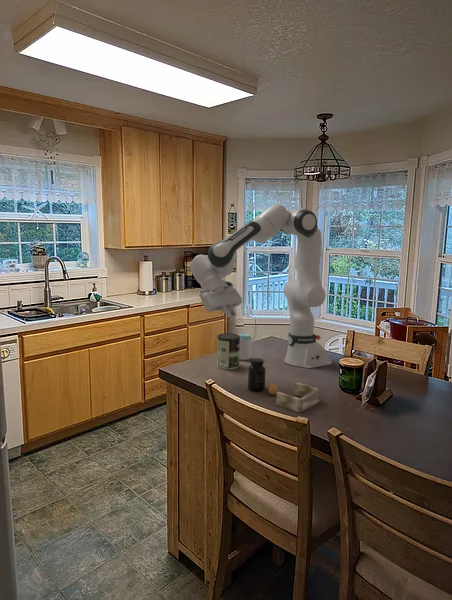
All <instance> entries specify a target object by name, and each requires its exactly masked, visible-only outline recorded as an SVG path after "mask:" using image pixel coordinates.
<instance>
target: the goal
mask: <svg viewBox="0 0 452 600" xmlns="http://www.w3.org/2000/svg"><path fill="white" fill-rule="evenodd" d="M321 393H322V388H318V387H314V386H310V385H307V384H304V383H301V382H295V387H294V395H297V396H299V397H301V398H299V397H296V396H293V395H290V394H286V393H284V392H280V391H278V392H277V393H276V394H275V405H276V406H280V407H283V408H285V409H289V410H291V411H294V412H296V413H297V412H298V413H303V412H305V411H306V410H308V409H309V408H311V407H312V406H314V405H316V404H317V403H320V401H321V397H322V396H321V395H322V394H321Z"/></svg>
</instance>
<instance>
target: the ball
mask: <svg viewBox="0 0 452 600" xmlns="http://www.w3.org/2000/svg"><path fill="white" fill-rule="evenodd" d="M267 391H268V393H269V394H270V395H272V396H274V395H275V396H276V393H277V392H280V391H279V386H278V385H277V384H276V383H275V384H274V383H273V384H269V386H268V387H267Z"/></svg>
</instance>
